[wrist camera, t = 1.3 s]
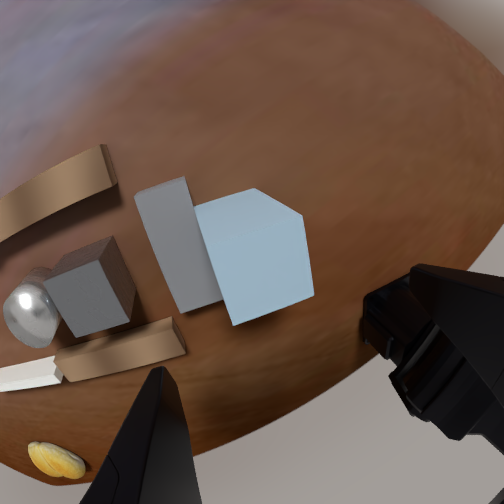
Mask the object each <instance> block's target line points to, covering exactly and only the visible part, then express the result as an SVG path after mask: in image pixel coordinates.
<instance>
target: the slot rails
mask: <svg viewBox="0 0 504 504" xmlns="http://www.w3.org/2000/svg"><path fill="white" fill-rule="evenodd" d="M117 183H118V182H117V179H116V176H115V173H114V170H113V166H112V163H111V160H110V156H109V153H108V149H107V146H106V145H105V144H101V145H97V146H95V147H93V148H91V149H88V150H86V151H84V152H82V153H80V154H78V155H76V156H74V157H72V158H69V159H67V160H66V161H64V162H62V163H60V164H58V165H56V166H54V167H52V168H50V169H48V170H47V171H45V172H43V173H41V174H39V175H38V176H36V177H34V178H32V179H31V180H29V181H27V182H26V183H24V184H23V185H21V186H19V187H18V188H16V189H15V190H13V191H11V192H10V193H8V194H7V195H5V196H4V197H2V198H1V199H0V242H1V241H3V240H5V239H6V238H8V237H10V236H11V235H13V234H15V233H17V232H18V231H20V230H22V229H24V228H26V227H27V226H29V225H31V224H33V223H35V222H37V221H39V220H40V219H42V218H44V217H46V216H48V215H50V214H52V213H54V212H56V211H58V210H60V209H62V208H64V207H67V206H69V205H71V204H73V203H75V202H77V201H79V200H82V199H84V198H86V197H88V196H91V195H93V194H95V193H98V192H100V191H102V190H105V189H107V188H110V187H112V186H114V185H115V184H117ZM183 354H186V351H185V343H184V339H183V337H182V335H181V333H180V331H179V330H178V328H177V326H176V324H175V322H174V320H173V318H172V316H171V317H168V318H165V319H162V320H159V321H156V322H152V323H149V324H146V325H143V326H139V327H136V328H133V329H129V330H126V331H123V332H119V333H116V334H113V335H109V336H106V337H102V338H99V339H95V340H92V341H88V342H85V343H81V344H77V345H74V346H70V347H66V348H63V349H59V350H57V353H56V355H55V358H54V361H53V362H54V363H55V365H56V366H57V367H58V368H59V370H60V371H61V372H62V373H63V374H64V376H65V377H66V378H67V379H68V380H69V382H74V381H79V380H84V379H89V378H94V377H98V376H103V375H107V374H112V373H116V372H120V371H124V370H128V369H132V368H136V367H140V366H144V365H147V364H151V363H155V362H158V361H162V360H166V359H169V358H173V357H176V356H179V355H183Z"/></svg>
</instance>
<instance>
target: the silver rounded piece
mask: <svg viewBox="0 0 504 504" xmlns="http://www.w3.org/2000/svg"><path fill="white" fill-rule="evenodd" d="M51 271H52V270H51V269H49V268H45V267H37V268H34V269H33V270H31V271H30V272H29V273H28V275H27V276H26V277H25V278H24V279H23V280H22V281H21V283H20V284H19V285H18V286H17V287H16V289H15V290H14V291H13V292H12V293H11V295H10V296H9V297H8V298H7V300H6V301H5V303H4V307H3V314H4V318H5V321H6V324H7V326H8V327H9V329H10V331H11V332H12V333H13V334H14V336H15V337H16V338H18V339H19V340H20V341H21V342H23V343H24V344H26V345H28V346H31V347H34V348H44V347H46V346H48V345H49V344H50V343H51V341H52V339H53V337H54V335H55V332H56V330H57V328H58V326H59V324H60V322H61V320H62V318H63V317H62V315H61V314H60V312H59V311H58V309H57V307H56V305H55V304H54V302H53V300H52V299H51V297H50V295H49V293H48V291H47V290H46V288H45V286H44V284H43V281H44V280H45V278H46V277H47V276H48V274H49V273H50V272H51Z"/></svg>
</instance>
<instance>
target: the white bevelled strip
mask: <svg viewBox="0 0 504 504" xmlns="http://www.w3.org/2000/svg"><path fill="white" fill-rule="evenodd" d="M54 358H55V356H51V357H47V358H43V359H39V360H35V361H31V362H26V363H22V364H17V365H13V366H8V367H4V368H0V392H2V391H11V390H19V389H26V388H33V387H40V386H46V385H52V384H57V383H61V381H62V377H63V373H62V372H61V371H60V370H59V368H58V367H57V366H56V365H55V363H54V362H53V361H54Z"/></svg>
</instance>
